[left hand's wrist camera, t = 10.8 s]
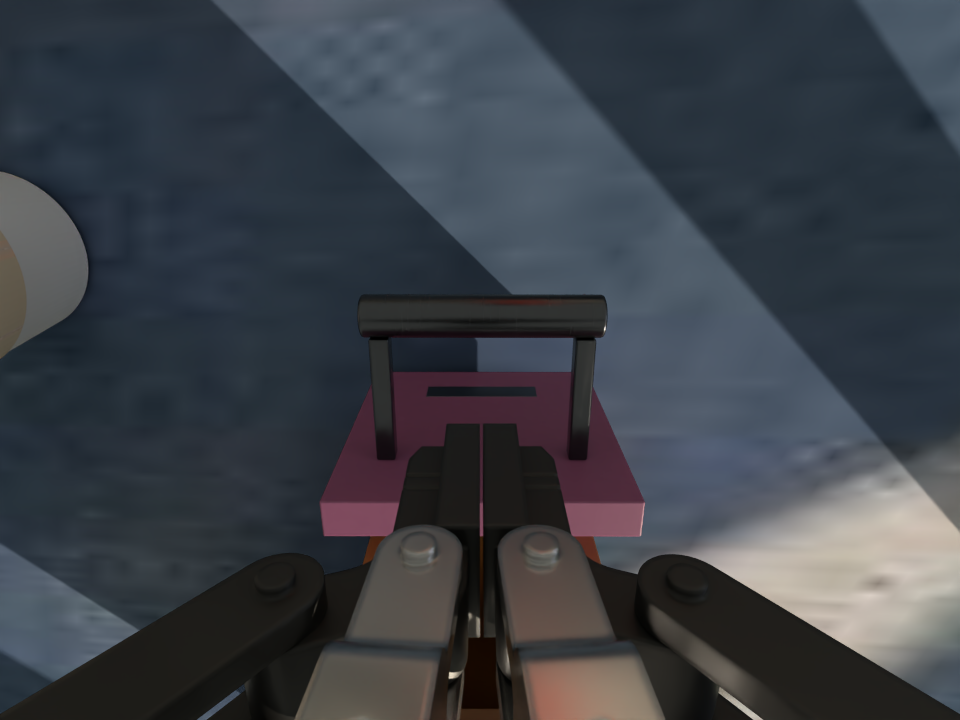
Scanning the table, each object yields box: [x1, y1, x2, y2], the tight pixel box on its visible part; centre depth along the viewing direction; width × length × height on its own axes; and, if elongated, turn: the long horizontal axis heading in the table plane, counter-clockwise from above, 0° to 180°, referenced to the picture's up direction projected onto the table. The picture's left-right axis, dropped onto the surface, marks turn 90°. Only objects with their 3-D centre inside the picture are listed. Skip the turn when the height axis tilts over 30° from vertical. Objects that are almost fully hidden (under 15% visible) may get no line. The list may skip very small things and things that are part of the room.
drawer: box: [320, 294, 645, 709], centre depth 24 cm, size 25×9×10 cm, turn 0°
